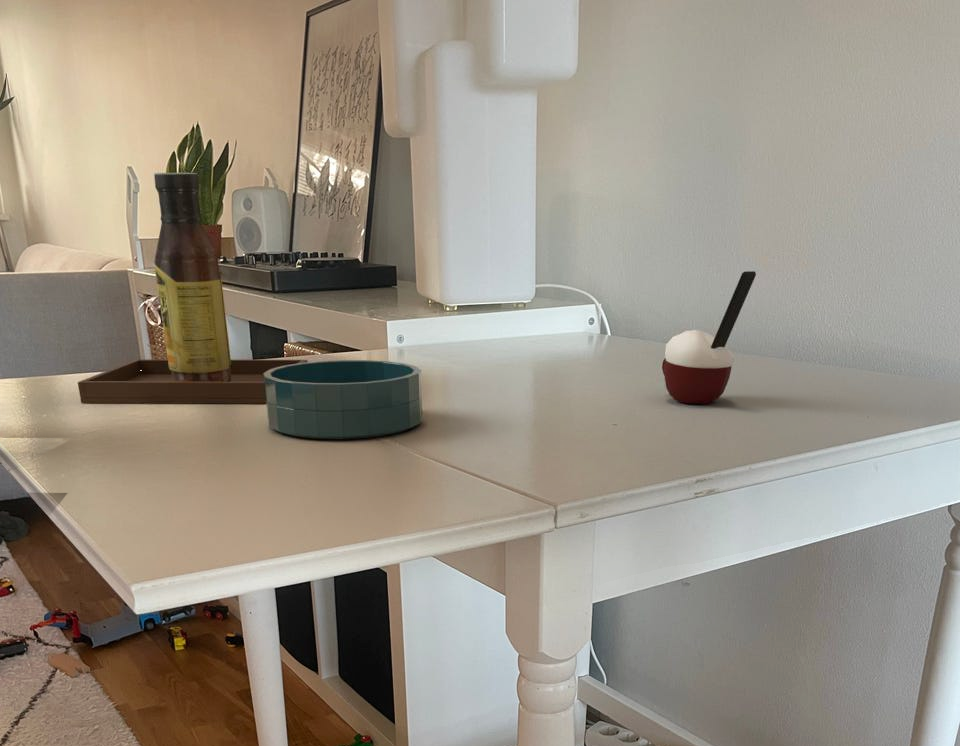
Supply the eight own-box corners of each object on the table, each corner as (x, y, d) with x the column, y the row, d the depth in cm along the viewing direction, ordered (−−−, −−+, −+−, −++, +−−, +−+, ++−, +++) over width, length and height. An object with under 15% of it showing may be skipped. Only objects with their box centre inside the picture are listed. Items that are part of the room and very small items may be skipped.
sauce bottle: (182, 379, 104) (156, 173, 96) (240, 379, 104) (218, 173, 95) (161, 390, 98) (131, 171, 90) (223, 390, 98) (198, 171, 89)
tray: (80, 403, 94) (77, 382, 93) (138, 377, 108) (135, 359, 107) (276, 403, 93) (274, 382, 93) (309, 378, 107) (307, 359, 106)
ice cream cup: (648, 394, 97) (657, 266, 92) (708, 392, 98) (719, 265, 93) (683, 413, 88) (694, 272, 83) (748, 410, 89) (763, 271, 84)
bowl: (251, 440, 79) (245, 384, 77) (288, 409, 91) (283, 359, 89) (413, 441, 78) (411, 384, 76) (428, 409, 90) (427, 360, 88)
